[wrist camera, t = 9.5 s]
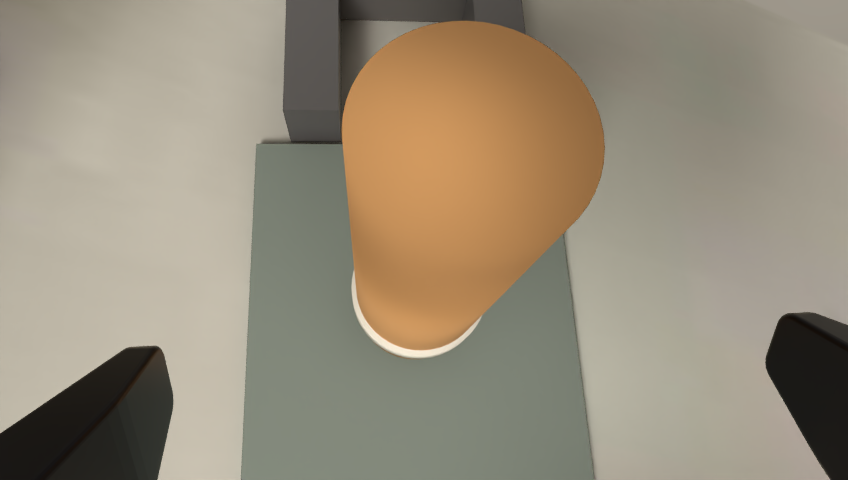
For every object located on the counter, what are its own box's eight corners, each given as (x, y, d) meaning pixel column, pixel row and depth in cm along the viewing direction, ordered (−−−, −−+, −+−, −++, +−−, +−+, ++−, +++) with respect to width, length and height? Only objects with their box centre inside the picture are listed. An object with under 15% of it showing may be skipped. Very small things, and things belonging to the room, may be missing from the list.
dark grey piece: (518, 142, 24) (534, 112, 22) (291, 141, 23) (282, 109, 21) (501, -13, 27) (514, -55, 25) (295, -20, 26) (288, -65, 24)
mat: (594, 511, 20) (598, 513, 20) (240, 535, 19) (238, 537, 19) (549, 149, 24) (551, 144, 24) (257, 148, 23) (256, 143, 23)
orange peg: (478, 361, 21) (634, 265, 9) (354, 365, 21) (331, 271, 8) (470, 243, 22) (593, 15, 10) (352, 245, 22) (331, 10, 10)
